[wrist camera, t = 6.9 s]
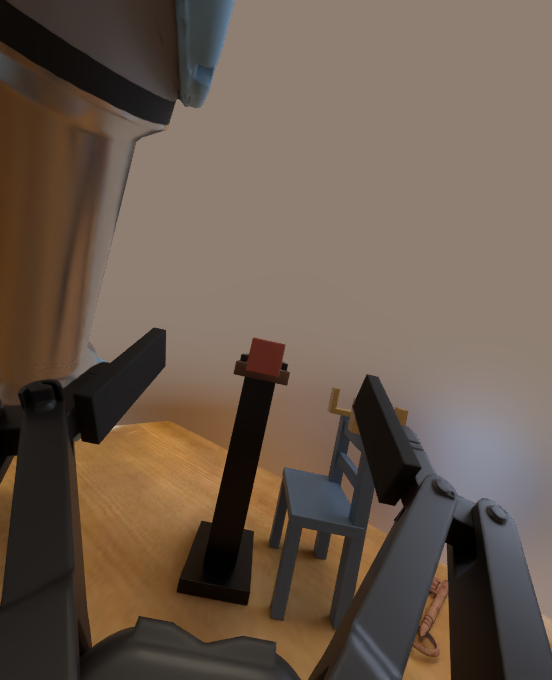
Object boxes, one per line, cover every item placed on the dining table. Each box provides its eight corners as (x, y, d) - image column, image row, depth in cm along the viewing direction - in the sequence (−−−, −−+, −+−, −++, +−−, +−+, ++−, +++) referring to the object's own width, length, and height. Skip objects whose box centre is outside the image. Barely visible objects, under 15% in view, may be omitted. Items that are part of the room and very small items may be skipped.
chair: (367, 637, 28) (409, 411, 30) (269, 619, 28) (317, 391, 30) (337, 553, 40) (368, 394, 42) (268, 539, 40) (302, 380, 42)
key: (418, 569, 41) (379, 622, 31) (419, 563, 41) (380, 614, 31) (463, 596, 37) (435, 668, 26) (463, 589, 37) (436, 657, 27)
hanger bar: (284, 378, 18) (293, 334, 19) (240, 369, 18) (249, 325, 19) (273, 364, 42) (277, 344, 43) (254, 359, 42) (258, 340, 43)
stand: (245, 624, 27) (300, 367, 29) (169, 610, 27) (228, 351, 28) (252, 531, 41) (288, 362, 43) (202, 522, 41) (241, 351, 42)
